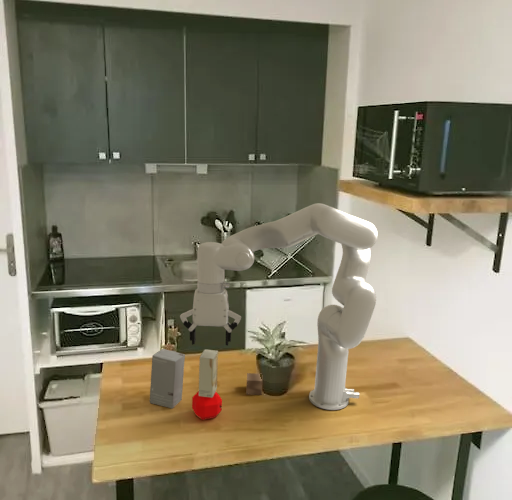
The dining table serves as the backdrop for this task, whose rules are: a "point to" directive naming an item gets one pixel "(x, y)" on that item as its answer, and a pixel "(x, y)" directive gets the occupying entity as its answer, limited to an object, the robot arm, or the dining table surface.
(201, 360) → the skincare box
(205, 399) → the ball
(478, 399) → the dining table surface
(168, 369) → the skincare box
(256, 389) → the walnut block
